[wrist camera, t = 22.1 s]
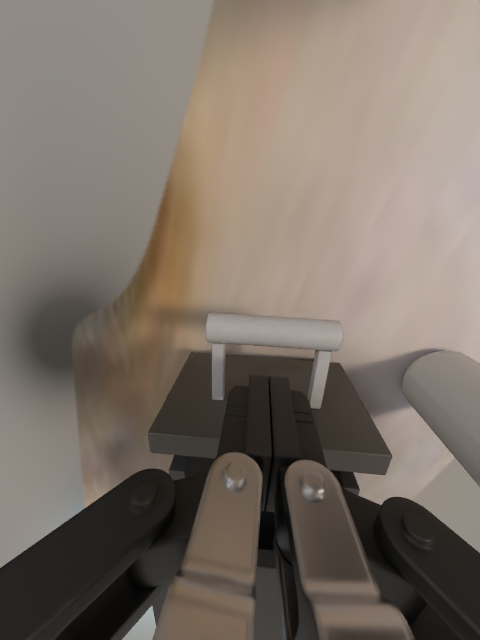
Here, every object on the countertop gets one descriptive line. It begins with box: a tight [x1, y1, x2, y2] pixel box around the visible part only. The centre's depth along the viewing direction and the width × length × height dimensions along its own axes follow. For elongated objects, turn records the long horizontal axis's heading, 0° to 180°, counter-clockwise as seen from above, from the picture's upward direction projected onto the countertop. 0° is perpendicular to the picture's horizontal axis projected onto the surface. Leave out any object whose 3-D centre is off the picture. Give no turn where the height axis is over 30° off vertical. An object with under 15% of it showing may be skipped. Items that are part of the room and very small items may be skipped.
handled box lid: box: [148, 313, 392, 550], centre depth 15 cm, size 17×10×7 cm, turn 178°
